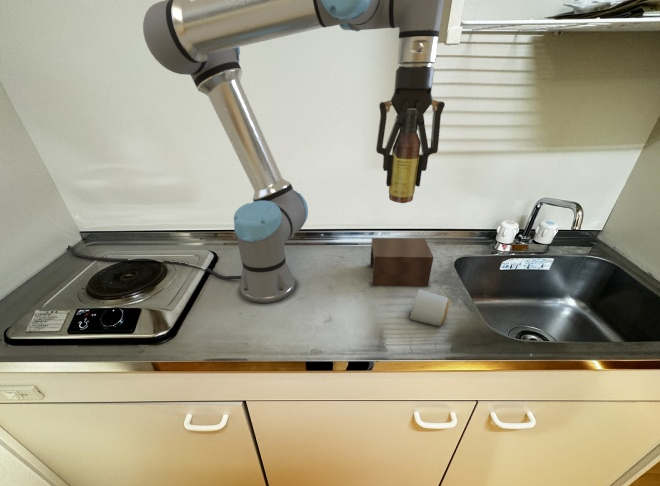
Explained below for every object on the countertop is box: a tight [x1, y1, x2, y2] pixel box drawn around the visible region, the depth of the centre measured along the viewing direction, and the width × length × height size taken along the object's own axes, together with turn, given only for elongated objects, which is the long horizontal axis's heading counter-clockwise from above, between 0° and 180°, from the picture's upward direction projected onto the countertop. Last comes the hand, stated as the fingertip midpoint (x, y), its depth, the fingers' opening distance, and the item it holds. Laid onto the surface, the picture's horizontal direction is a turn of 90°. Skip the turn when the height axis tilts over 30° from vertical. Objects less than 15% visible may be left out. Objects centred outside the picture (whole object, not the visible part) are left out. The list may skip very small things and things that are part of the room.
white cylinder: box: [409, 289, 451, 327], centre depth 78 cm, size 11×8×8 cm
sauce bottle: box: [388, 108, 421, 204], centre depth 73 cm, size 7×6×20 cm
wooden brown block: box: [369, 237, 435, 287], centre depth 93 cm, size 16×12×10 cm
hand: (402, 184), depth 76 cm, fingers closed on sauce bottle, 6 cm apart
